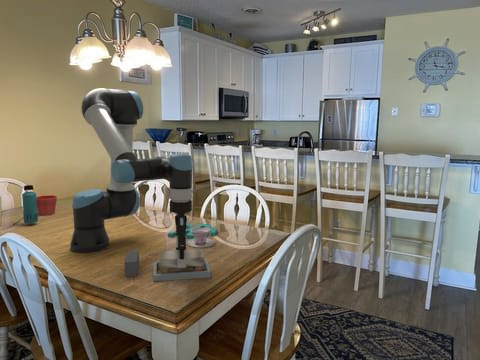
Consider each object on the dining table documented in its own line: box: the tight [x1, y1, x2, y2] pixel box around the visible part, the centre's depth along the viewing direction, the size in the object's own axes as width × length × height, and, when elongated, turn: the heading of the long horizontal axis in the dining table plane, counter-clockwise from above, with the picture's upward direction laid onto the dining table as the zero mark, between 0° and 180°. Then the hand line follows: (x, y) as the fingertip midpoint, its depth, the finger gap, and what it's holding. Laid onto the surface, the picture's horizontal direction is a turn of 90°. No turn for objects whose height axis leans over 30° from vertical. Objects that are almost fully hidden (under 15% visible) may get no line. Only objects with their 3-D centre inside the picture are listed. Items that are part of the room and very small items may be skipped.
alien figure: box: [167, 221, 219, 240], centre depth 175 cm, size 20×2×20 cm
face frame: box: [152, 258, 212, 282], centre depth 128 cm, size 19×12×4 cm, turn 102°
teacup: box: [186, 228, 215, 249], centre depth 159 cm, size 12×12×6 cm
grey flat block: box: [158, 248, 205, 269], centre depth 127 cm, size 15×8×3 cm, turn 102°
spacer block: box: [123, 250, 140, 277], centre depth 129 cm, size 4×11×5 cm, turn 12°
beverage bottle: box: [21, 184, 39, 224], centre depth 182 cm, size 6×7×20 cm
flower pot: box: [36, 194, 58, 216], centre depth 204 cm, size 11×11×10 cm
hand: (180, 260), depth 128 cm, fingers open, 12 cm apart
